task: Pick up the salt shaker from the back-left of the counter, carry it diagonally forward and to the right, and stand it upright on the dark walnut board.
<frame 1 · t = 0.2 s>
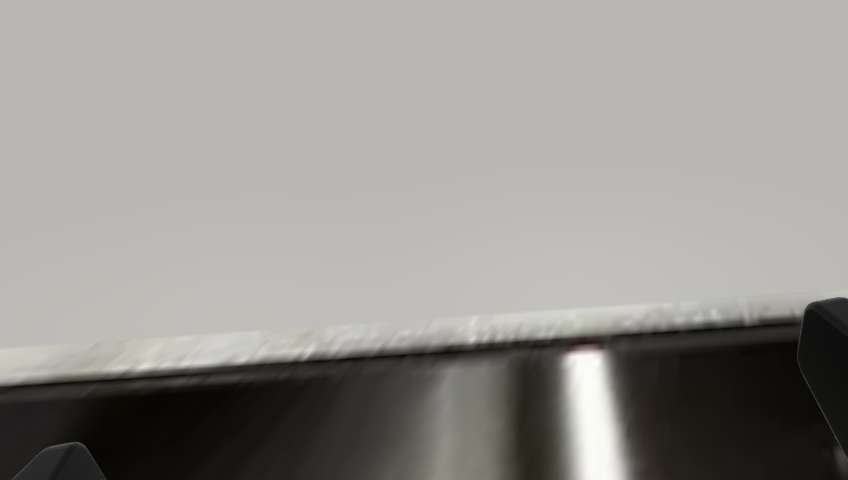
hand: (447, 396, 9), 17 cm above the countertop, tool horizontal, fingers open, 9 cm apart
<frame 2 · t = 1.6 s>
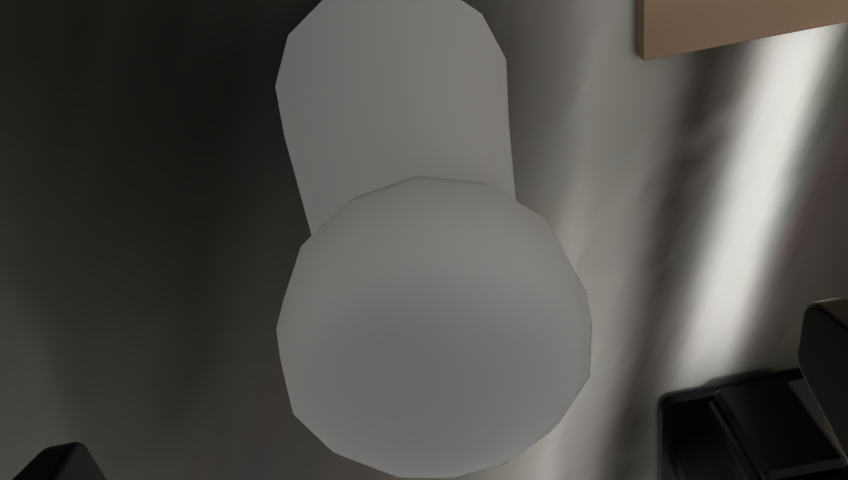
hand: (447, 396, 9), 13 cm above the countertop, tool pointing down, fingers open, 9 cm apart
salt shaker: (388, 64, 20), on the countertop
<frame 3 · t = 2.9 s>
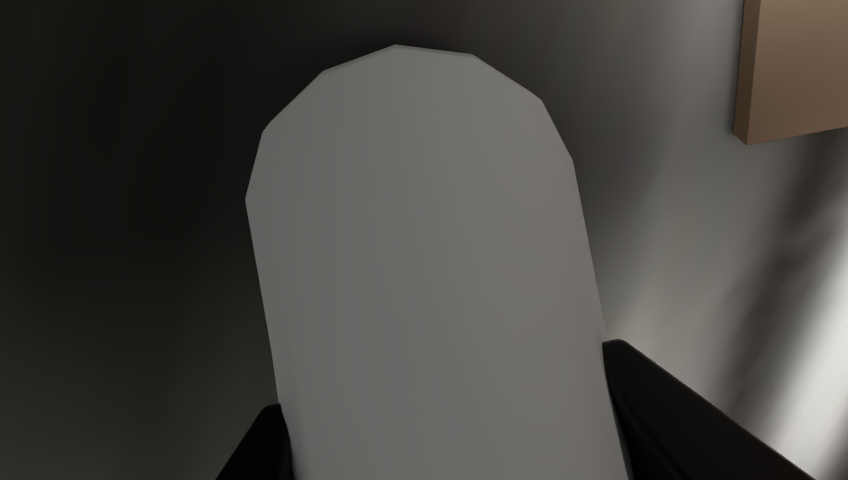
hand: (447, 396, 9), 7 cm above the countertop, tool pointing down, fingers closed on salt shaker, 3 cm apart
salt shaker: (403, 148, 15), on the countertop, touching gripper
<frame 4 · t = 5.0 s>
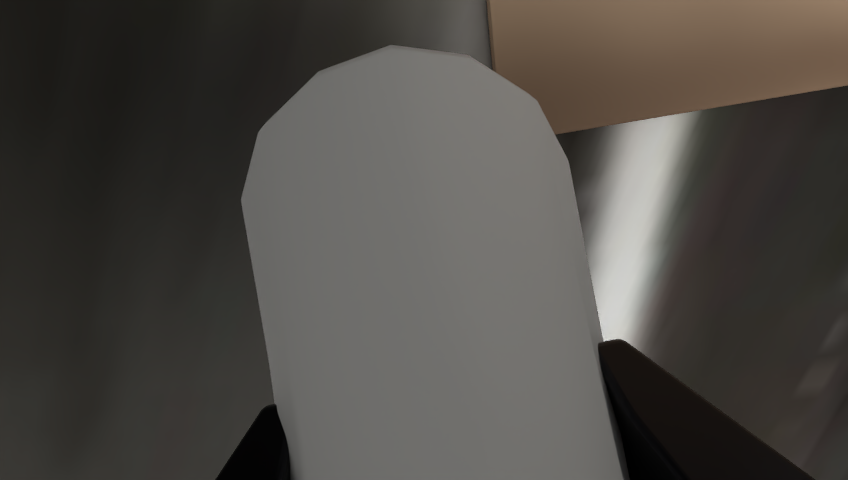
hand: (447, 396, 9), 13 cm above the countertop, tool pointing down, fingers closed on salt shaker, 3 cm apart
salt shaker: (399, 149, 15), point 6 cm above the countertop, touching gripper
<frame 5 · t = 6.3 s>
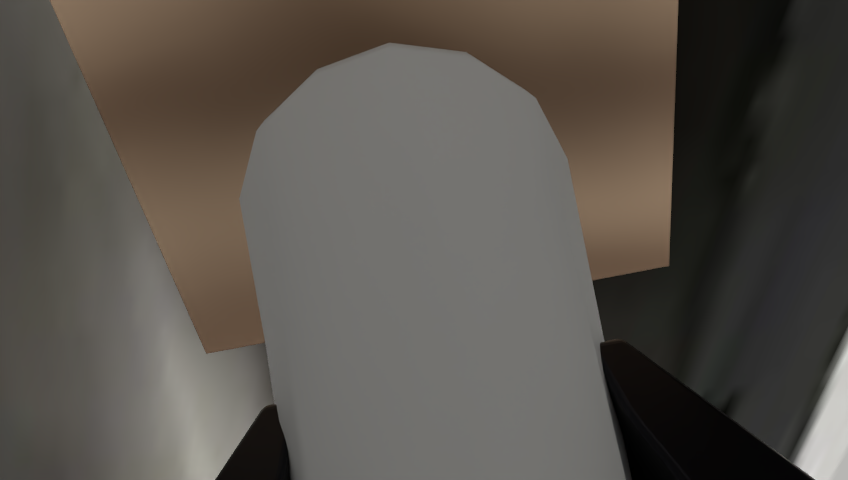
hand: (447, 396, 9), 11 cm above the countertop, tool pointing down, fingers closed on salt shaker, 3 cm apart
salt shaker: (397, 147, 15), point 4 cm above the countertop, touching gripper
walnut board: (393, 80, 18), on the countertop
when the fingers open (8 cm above the countertop, at t = 7.1 s): salt shaker stays where it is, resting on walnut board.
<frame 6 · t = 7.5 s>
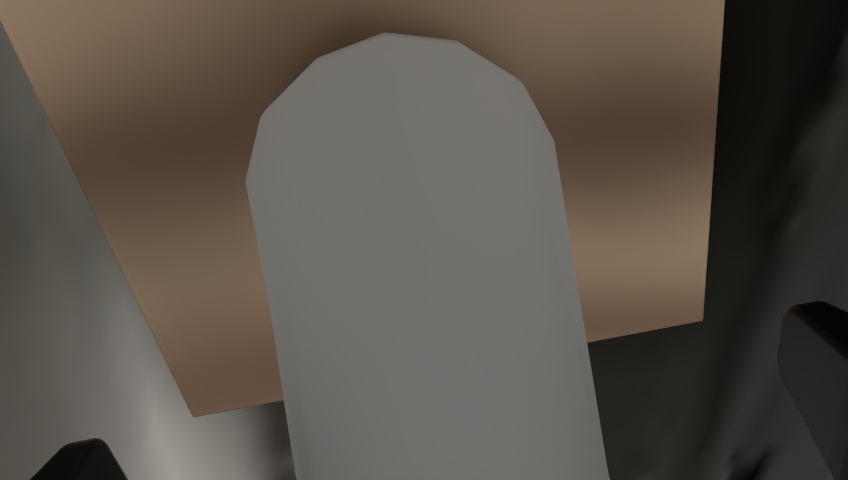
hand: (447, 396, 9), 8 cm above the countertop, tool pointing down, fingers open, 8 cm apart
salt shaker: (395, 133, 16), resting on walnut board
walnut board: (399, 123, 16), on the countertop
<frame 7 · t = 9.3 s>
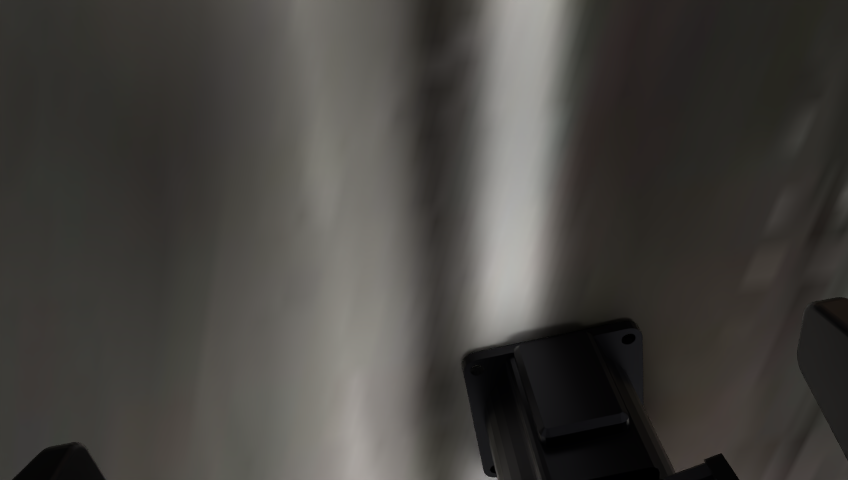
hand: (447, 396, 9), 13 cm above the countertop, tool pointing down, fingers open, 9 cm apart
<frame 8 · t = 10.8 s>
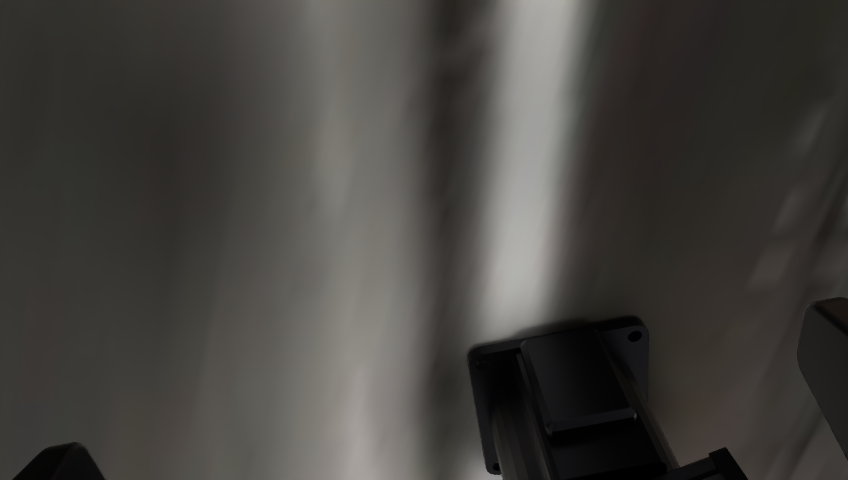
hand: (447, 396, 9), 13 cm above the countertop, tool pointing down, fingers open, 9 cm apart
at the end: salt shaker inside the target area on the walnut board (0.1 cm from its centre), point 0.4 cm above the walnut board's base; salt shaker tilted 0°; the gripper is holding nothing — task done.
